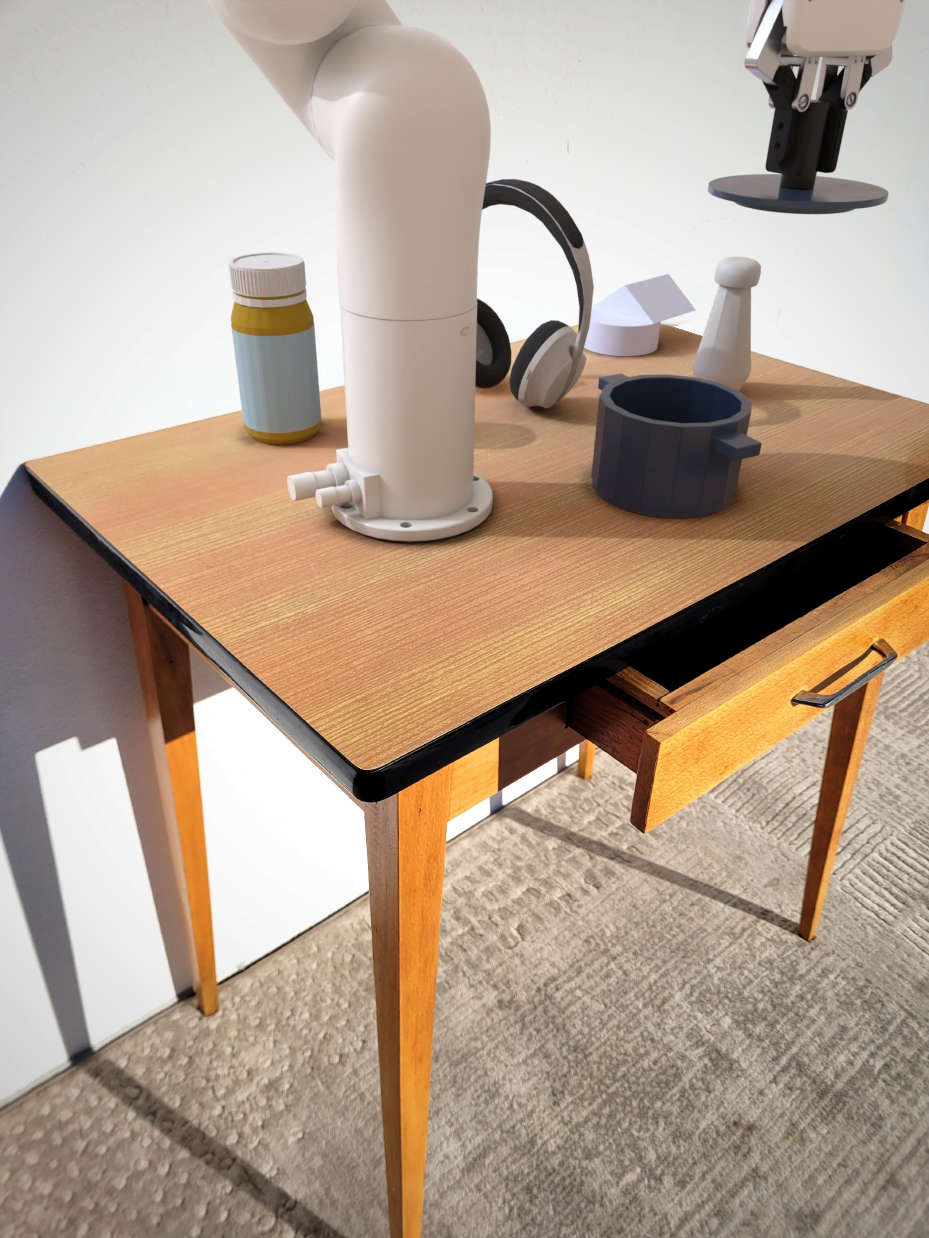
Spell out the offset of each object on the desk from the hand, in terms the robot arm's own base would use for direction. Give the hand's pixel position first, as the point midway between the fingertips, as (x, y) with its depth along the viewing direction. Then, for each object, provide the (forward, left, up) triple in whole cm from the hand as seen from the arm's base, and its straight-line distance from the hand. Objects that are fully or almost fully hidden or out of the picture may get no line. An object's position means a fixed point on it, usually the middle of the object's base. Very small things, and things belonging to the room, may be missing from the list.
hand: (799, 169), depth 67 cm
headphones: (-10, +24, -23) cm, 35 cm away
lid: (0, 0, -2) cm, 2 cm away
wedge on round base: (+13, +34, -23) cm, 43 cm away
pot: (-9, 0, -23) cm, 25 cm away
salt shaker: (+11, +16, -23) cm, 31 cm away
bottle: (-33, +25, -23) cm, 47 cm away
